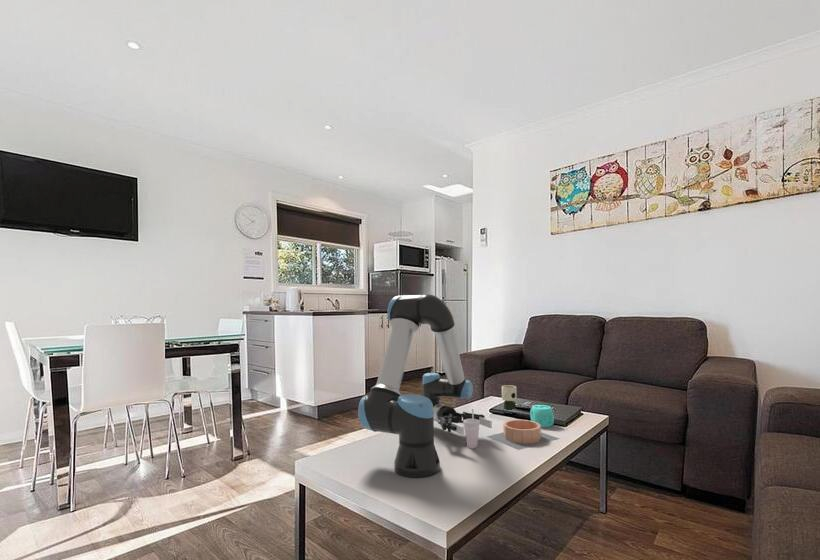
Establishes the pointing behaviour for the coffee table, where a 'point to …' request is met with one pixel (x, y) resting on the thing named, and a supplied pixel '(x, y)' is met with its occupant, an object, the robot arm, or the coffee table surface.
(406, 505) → the coffee table surface
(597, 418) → the coffee table surface
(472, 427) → the smoothie
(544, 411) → the decorative dice
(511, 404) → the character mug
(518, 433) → the bowl
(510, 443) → the mat
